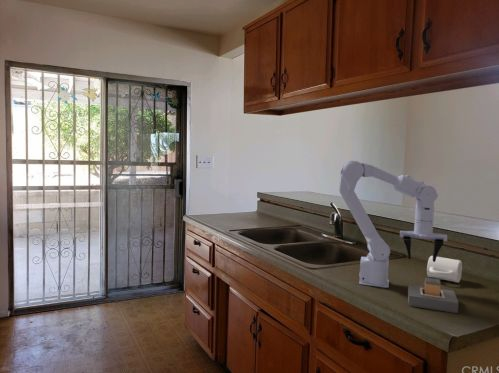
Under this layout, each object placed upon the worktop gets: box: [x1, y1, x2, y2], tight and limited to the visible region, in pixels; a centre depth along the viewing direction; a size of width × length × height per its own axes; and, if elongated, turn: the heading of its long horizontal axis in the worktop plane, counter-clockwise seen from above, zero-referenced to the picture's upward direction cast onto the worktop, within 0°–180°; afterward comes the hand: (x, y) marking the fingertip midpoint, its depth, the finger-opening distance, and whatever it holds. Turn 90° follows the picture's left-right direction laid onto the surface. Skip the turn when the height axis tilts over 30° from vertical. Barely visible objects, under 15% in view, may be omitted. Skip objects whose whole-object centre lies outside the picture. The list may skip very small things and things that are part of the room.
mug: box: [426, 255, 463, 284], centre depth 138 cm, size 12×10×8 cm
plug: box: [423, 277, 442, 296], centre depth 116 cm, size 4×4×7 cm
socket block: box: [407, 284, 459, 314], centre depth 116 cm, size 13×11×3 cm
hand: (421, 259), depth 130 cm, fingers open, 7 cm apart
